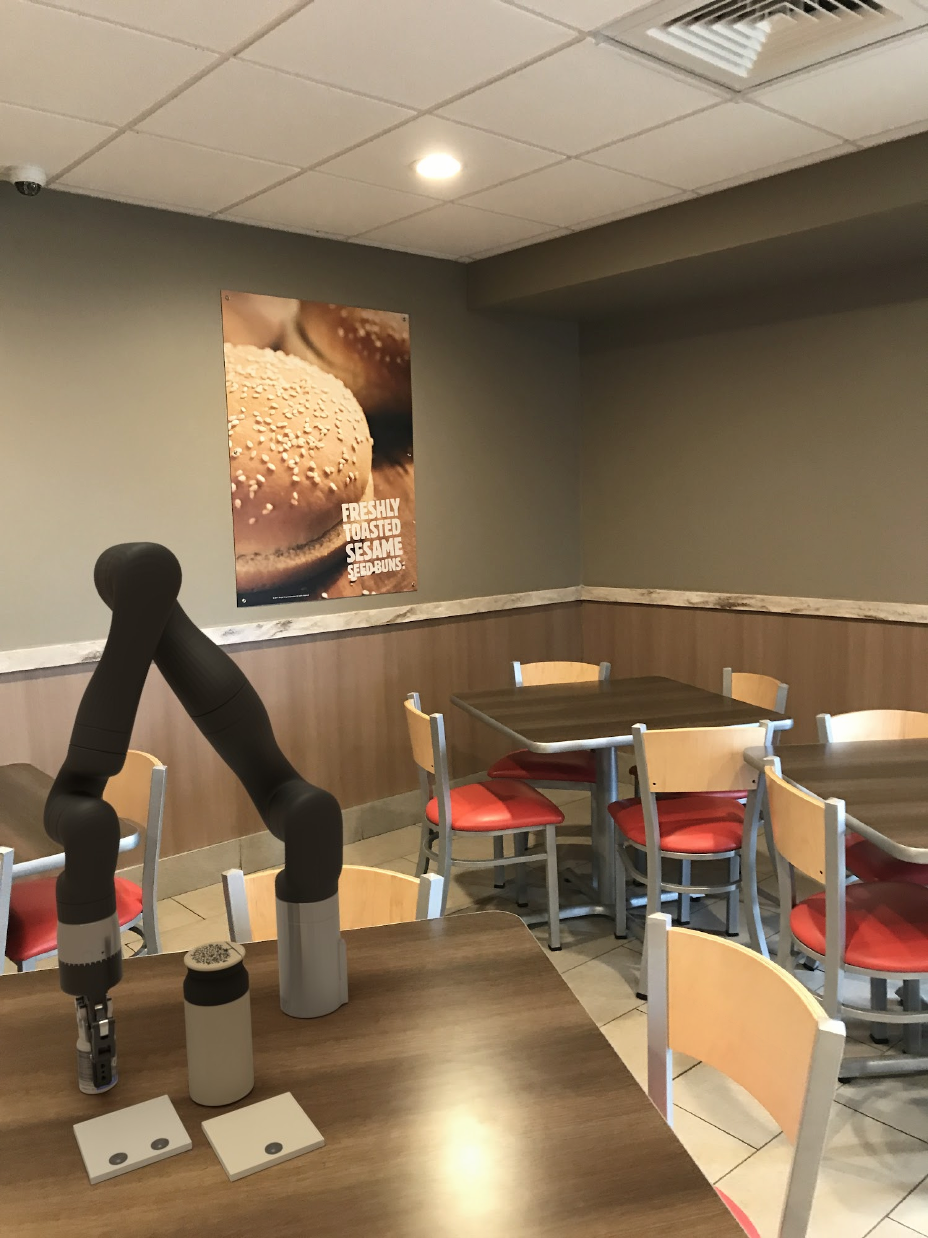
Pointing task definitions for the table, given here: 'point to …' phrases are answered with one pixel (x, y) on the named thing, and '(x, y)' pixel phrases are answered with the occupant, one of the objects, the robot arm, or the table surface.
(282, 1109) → the one-dot pad
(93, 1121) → the two-dot pad
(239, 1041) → the travel mug
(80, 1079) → the pill bottle
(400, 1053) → the table surface
